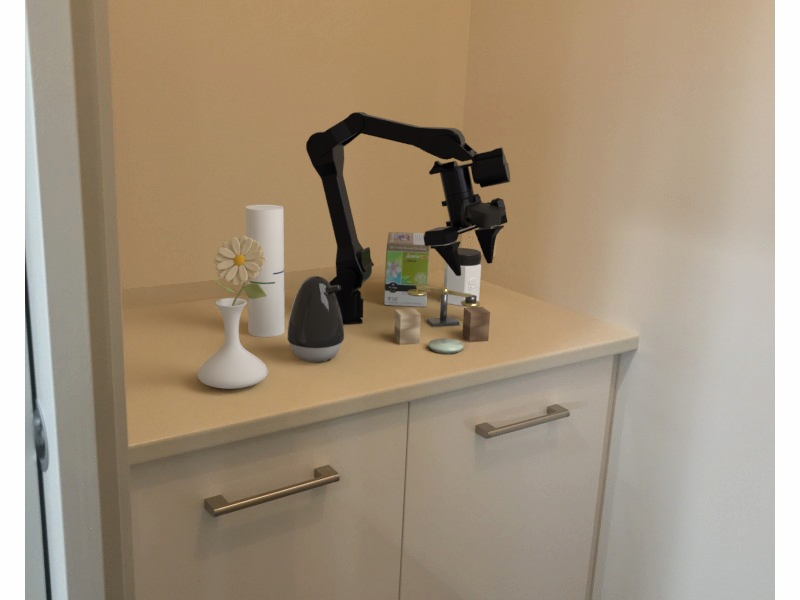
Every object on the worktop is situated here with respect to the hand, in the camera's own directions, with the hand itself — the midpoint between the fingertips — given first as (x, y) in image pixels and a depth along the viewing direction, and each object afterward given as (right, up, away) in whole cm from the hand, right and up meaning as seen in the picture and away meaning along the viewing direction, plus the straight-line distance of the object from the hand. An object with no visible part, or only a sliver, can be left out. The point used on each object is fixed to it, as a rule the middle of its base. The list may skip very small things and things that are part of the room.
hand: (474, 269), depth 155 cm
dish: (-6, -15, -7) cm, 18 cm away
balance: (-6, -11, +10) cm, 16 cm away
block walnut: (0, -14, 0) cm, 14 cm away
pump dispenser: (-30, -17, -13) cm, 37 cm away
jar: (-1, -7, +27) cm, 28 cm away
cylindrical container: (-42, -13, 0) cm, 44 cm away
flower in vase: (-42, -20, -27) cm, 54 cm away
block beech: (-14, -14, -3) cm, 20 cm away
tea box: (-14, -6, +28) cm, 32 cm away
